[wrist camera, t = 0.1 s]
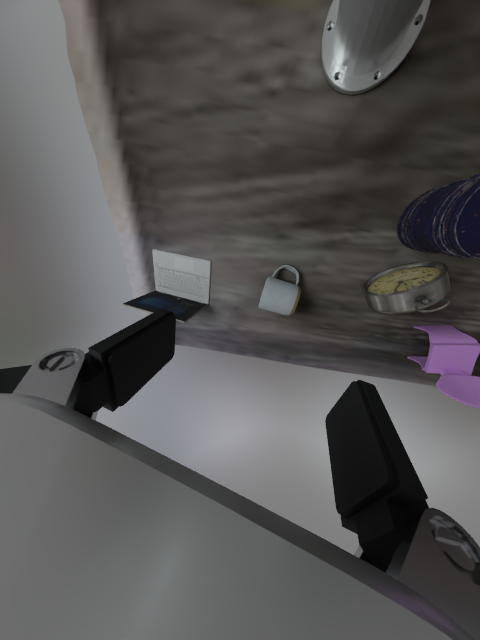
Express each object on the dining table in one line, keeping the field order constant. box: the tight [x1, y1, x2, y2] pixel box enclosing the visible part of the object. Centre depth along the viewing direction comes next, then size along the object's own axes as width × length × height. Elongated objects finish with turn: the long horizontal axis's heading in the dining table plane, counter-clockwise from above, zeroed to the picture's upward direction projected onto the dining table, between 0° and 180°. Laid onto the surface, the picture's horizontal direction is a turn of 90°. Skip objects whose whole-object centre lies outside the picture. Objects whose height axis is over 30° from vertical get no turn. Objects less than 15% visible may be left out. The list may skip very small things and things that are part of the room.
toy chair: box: [407, 325, 480, 408], centre depth 33 cm, size 8×9×15 cm
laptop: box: [123, 249, 211, 323], centre depth 46 cm, size 18×12×13 cm
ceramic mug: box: [259, 265, 301, 315], centre depth 41 cm, size 11×8×8 cm
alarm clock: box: [361, 261, 451, 314], centre depth 30 cm, size 11×5×16 cm, turn 120°
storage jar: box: [397, 173, 480, 259], centre depth 25 cm, size 10×10×15 cm
